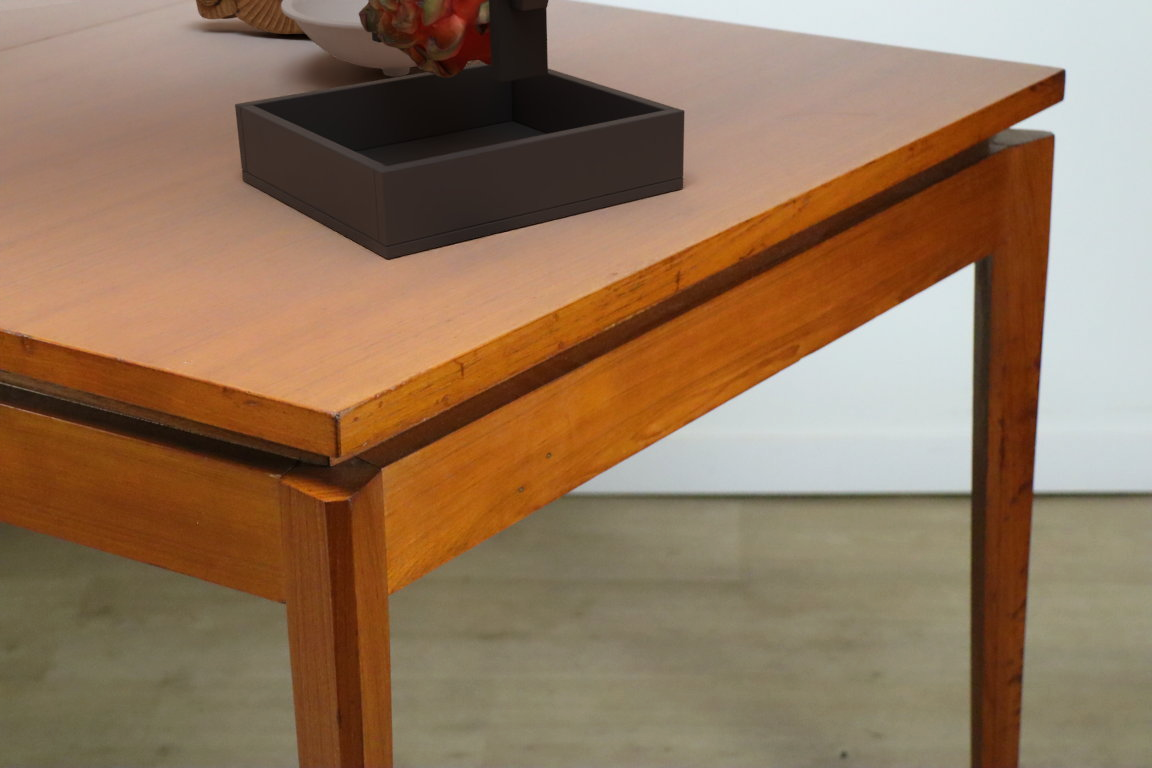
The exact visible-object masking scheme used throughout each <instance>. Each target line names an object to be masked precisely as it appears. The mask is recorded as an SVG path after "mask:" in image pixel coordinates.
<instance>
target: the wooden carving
mask: <svg viewBox="0 0 1152 768" xmlns="http://www.w3.org/2000/svg"><path fill="white" fill-rule="evenodd" d="M282 1H283V0H195V3H196V8H197V12H198V14H199V16H201V18H202V19H208V20H220V19H221V20H229V19H236V18H238V19H239V20H240V21H242V22H244V23H245V24H247V25H248V26H250V27H251V28H255V29H257V30H261V31H263V32H267V33H271V34H276V35H277V34H279V35H293V34H294V35H306V34H305V32H304V31H303V30H302V29H301V28H300V27H299V26H298V24H297V23H296V21H295V20H293V19H291V18H289V17H288V16H286V15H285V14H284V13H283V12H282V9H281V3H282Z"/></svg>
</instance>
